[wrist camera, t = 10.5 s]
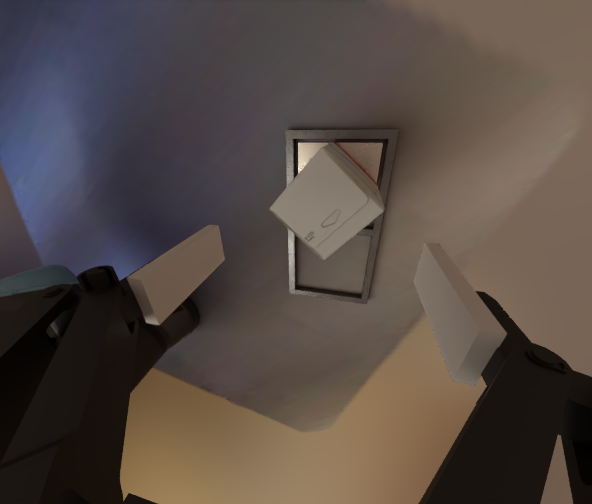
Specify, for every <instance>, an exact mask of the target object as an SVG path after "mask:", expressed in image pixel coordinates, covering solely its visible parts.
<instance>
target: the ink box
mask: <svg viewBox="0 0 592 504" xmlns="http://www.w3.org/2000/svg"><path fill="white" fill-rule="evenodd" d="M384 209H385V208H384V204H383V201H382V198H381V195H380V192H379V189H378V186H377V184H376V182H375V181H374V180H373V179H372V178H371V177H370V176H369V175H368V174H367V173H366V171H365V170H364V169H363V168H362V167H361V166H360V165H359V164H358V163H357V162H356V161H355V160H354V159H353V158H352V157H351V156H350V155H349V154H348V153H347V152H346V151H345V150H344V149H343V148H341V147H340V146H339V145H338V144H337V143H336V142H334V141H333V142H331V143H329V144H328V145H326V146H324V147H321V148H320V149H319V151H318V152H317V153H316V154H315V155H314V156H313V157H312V159H311V160H310V161H309V162H308V163H307V164H306V166H305V167H304V168H303V169H302V170H301V171H300V173H299V174H298V175H297V176H296V177H295V178H294V180H293V181H292V182H291V183H290V184H289V186H288V187H287V188H286V189H285V190H284V191H283V193H282V194H281V195H280V196H279V197H278V199H277V200H276V201H275V202H274V203H273V205H272V206H271V207H270V209H269V210H270V211H271V212H272V213H273V214H274V215H275V216H276V217H277V218H278V219H279V220H280V221H281V222H282V223H283V224H284V225H285V226H286V227H287V228H288V229H289V230H290V231H291V232H293V233H294V234H295V235H296V236H297V237H298V238H299V239H300V240H301V241H302V242H304V243H305V244H306V245H307V246H308V247H309V248H310V249H311V250H312V251H313V252H314V253H316V254H317V255H318V256H319V257H320V258H321V259H322V260H325V259H326V258H328V257H329V256H330V255H331V254H332V253H334V252H335V251H336V250H337V249H339V248H340V247H341V246H342V245H343V244H345V243H346V242H347V241H348V240H350V239H351V238H352V237H353V236H355V235H356V234H357V233H358V232H359V231H361V230H362V229H363V228H364V227H366V226H367V225H368V224H369V223H370V222H372V221H373V220H374V219H375V218H376V217H378V216H379V215H380V214H381V213H383V212H384Z"/></svg>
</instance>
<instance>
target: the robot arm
mask: <svg viewBox="0 0 592 504" xmlns="http://www.w3.org/2000/svg"><path fill="white" fill-rule="evenodd" d="M224 260H225V257H224V252H223V246H222V241H221V235H220V230H219V225H207V226H206V227H204V228H203V229H201V230H200V231H198V232H197V233H195V234H193V235H192V236H190V237H189V238H187V239H186V240H184V241H183V242H181V243H180V244H178V245H176V246H175V247H173V248H172V249H170V250H169V251H167V252H166V253H164V254H163V255H161V256H159V257H158V258H155V259H153V260H152V261H150V262H149V263H147V265H144V266H143V267H141V269H138V270H136V271H135V272H133V273H132V274H130V275H129V276H127V277H125V278H124V279H122V280H121V281H119V279H118V277H117V275H116V273H115V270H114V268H113V267H112V266H98V267H94V268H91V269H88V270H86V271H84V272H82V273H80V274H79V275H78V276H77V277H76V276H75V275H74V274H73V273H72V272H71V271H70V270H69V269H68V268H67V267H65V266H62V265H48V266H44V267H40V268H36V269H33V270H30V271H26V272H23V273H20V274H17V275H14V276H11V277H7V278H4V279H1V280H0V504H157V503H154V502H151V501H149V500H146V499H143V498H141V497H138V496H136V495H133V494H130V493H129V494H128V495H127V497H126V499H125V500H124V502H123V494H122V489H121V485H120V468H121V460H122V453H123V445H124V437H125V428H126V422H127V414H128V406H129V398H130V393H131V392H132V391H133V390H134V389H135V387H136V386H137V385H138V384H139V383H140V382H141V380H142V379H143V378H144V377H145V376H146V374H147V373H148V372H149V371H150V370H151V368H152V367H153V366H154V365H155V364H156V363H157V361H158V360H159V359H160V358H161V357H162V355H163V354H164V353H165V352H166V351H167V350H168V349H169V348H171V347H172V346H173V345H175V344H176V343H178V342H179V341H180V340H181V339H183V338H185V337H187V336H189V335H190V334H191V333H192V332H193V331H194V329H195V328H196V327H197V325H198V323H199V315H198V311H197V309H196V307H195V305H194V304H193V303H192V301H191V300H190V299H189V298H188V296H189V295H190V294H191V293H192V292H193V291H194V290H195V289H196V288H197V287H198V286H199V285H200V284H201V283H202V282H203V281H204V280H205V279H206V278H207V277H208V276H209V275H210V274H211V273H212V272H213V271H214V270H215V269H216V268H217V267H218V266H219V265H220V264H221V263H222V262H223V261H224ZM413 283H414V285H415V288H416V290H417V293H418V295H419V298H420V300H421V303H422V305H423V308H424V310H425V313H426V316H427V318H428V321H429V323H430V325H431V328H432V331H433V333H434V336H435V338H436V341H437V343H438V346H439V348H440V351H441V353H442V356H443V358H444V361H445V364H446V366H447V369H448V371H449V374H450V376H451V379H452V381H454V382H459V383H464V384H469V385H474V386H475V385H476V383H477V382H478V380H479V379H480V377H481V375H482V377H483V379H484V381H485V383H486V385H487V387H486V389H485V390H484V392H483V393H482V395H481V396H480V398H479V399H478V401H477V403H476V406H475V407H474V409H473V411H472V413H471V414H470V416H469V418H468V420H467V421H466V423H465V425H464V427H463V428H462V430H461V432H460V433H459V435H458V437H457V439H456V440H455V442H454V444H453V445H452V447H451V449H450V451H449V452H448V454H447V456H446V458H445V459H444V461H443V463H442V465H441V466H440V468H439V470H438V471H437V473H436V475H435V477H434V478H433V480H432V482H431V484H430V485H429V487H428V489H427V490H426V492H425V494H424V495H423V497H422V499H421V501H420V502H419V504H540V502H541V498H542V494H543V490H544V486H545V483H546V479H547V475H548V471H549V467H550V463H551V459H552V455H553V451H554V447H555V443H556V439H557V436H558V434H559V435H561V439H562V444H563V449H564V455H565V460H566V466H567V471H568V477H569V482H570V488H571V493H572V499H573V504H592V377H590V376H588V375H585V374H582V373H579V372H576V371H573V370H572V369H571V367H570V366H569V365H568V364H567V362H566V361H564V360H563V359H562V358H561V357H560V356H558V355H557V354H555V353H554V352H552V351H550V350H548V349H547V348H545V347H542V346H539V345H537V344H534V343H531V341H530V340H529V339H528V338H527V337H526V336H525V334H524V333H523V332H522V331H521V330H520V329H519V327H518V326H517V325H516V324H515V322H514V321H513V320H512V319H511V318H509V315H508V314H507V313H506V312H505V311H504V310H503V308H502V307H501V306H500V305H499V303H498V302H497V301H496V300H495V299H493V298H492V297H490V296H489V295H488V294H486V293H485V292H478V291H475V290H474V289H473V288H472V287H471V286H470V284H469V283H468V281H467V280H466V279H465V277H464V276H463V275H462V273H461V272H460V271H459V269H458V268H457V267H456V265H455V264H454V263H453V261H452V260H451V259H450V257H449V256H448V255H447V253H446V252H445V251H444V250H443V248H442V247H441V246H440V244H436V243H424V246H423V249H422V253H421V256H420V260H419V263H418V267H417V270H416V273H415V277H414V280H413Z"/></svg>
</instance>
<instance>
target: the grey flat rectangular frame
mask: <svg viewBox="0 0 592 504" xmlns="http://www.w3.org/2000/svg"><path fill="white" fill-rule="evenodd" d="M398 134H399V129H373V130H286V165H287V187H288V186H289V184H290V183H291V182H292V181H293V180H294V178H295V139H388V140H387V146H386V152H385V158H384V164H383V170H382V176H381V182H380V188H379V192H380V195H381V198H382V201H383V204H384V208H385V203H386V198H387V193H388V187H389V182H390V177H391V171H392V166H393V160H394V155H395V150H396V144H397V139H398ZM328 144H329V143H298V174H299V173H300V171H301V170H302V169H303V168H304V167H305V166H306V164H307V163H308V162H309V161H310V160H311V159H312V157H313V156H314V155H315V154H316V153H317V152H318V151H319V149H320V148H321V147H324V146H326V145H328ZM337 144H338V145H339V146H340V147H341V148H343V149H344V150H345V151H346V152H347V153H348V154H349V155H350V156H351V157H352V158H353V159H354V160H355V161H356V162H357V163H358V164H359V165H360V166H361V167H362V168H363V169H364V170H365V171H366V173H367V174H368V175H369V176H370V177H371V178H372V179H373V180H374V181H375V182H376V184H377V178H378V171H379V165H380V159H381V153H382V146H383V143H337ZM383 214H384V212H383V213H381V214H380V215H379V216H378V217H376V218H375V219H374V224H373V227H364V228H363V229H362V230H361V231H359V232H358V233H357V234H356V235H364V236H371V242H370V248H369V253H368V259H367V265H366V271H365V277H364V283H363V289H362V295H355V294H348V293H341V292H333V291H326V290H318V289H311V288H303V287H296V235H295V234H294V233H293V232H291V231H290V230H289V229H288V246H289V287H290V293H291V294H299V295H306V296H313V297H320V298H327V299H334V300H341V301H348V302H355V303H362V304H367V300H368V295H369V289H370V284H371V279H372V273H373V268H374V263H375V257H376V252H377V246H378V241H379V236H380V230H381V225H382V220H383ZM369 225H370V223H369Z"/></svg>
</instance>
